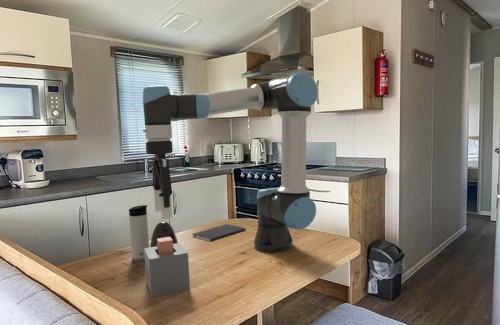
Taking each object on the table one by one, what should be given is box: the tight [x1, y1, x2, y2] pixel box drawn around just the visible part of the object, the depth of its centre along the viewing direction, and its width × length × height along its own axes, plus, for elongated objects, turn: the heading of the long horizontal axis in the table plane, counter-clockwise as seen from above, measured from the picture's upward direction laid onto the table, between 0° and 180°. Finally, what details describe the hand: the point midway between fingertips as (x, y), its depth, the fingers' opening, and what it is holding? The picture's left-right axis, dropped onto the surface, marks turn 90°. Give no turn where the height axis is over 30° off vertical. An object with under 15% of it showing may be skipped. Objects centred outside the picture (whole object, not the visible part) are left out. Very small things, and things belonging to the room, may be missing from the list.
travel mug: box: [128, 204, 150, 262], centre depth 138 cm, size 6×7×20 cm
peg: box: [157, 237, 173, 255], centre depth 112 cm, size 4×4×10 cm
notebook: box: [192, 223, 246, 242], centre depth 169 cm, size 13×2×21 cm
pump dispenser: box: [149, 221, 179, 248], centre depth 132 cm, size 10×10×15 cm
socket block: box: [144, 242, 191, 298], centre depth 113 cm, size 11×11×11 cm
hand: (163, 214), depth 111 cm, fingers open, 11 cm apart
